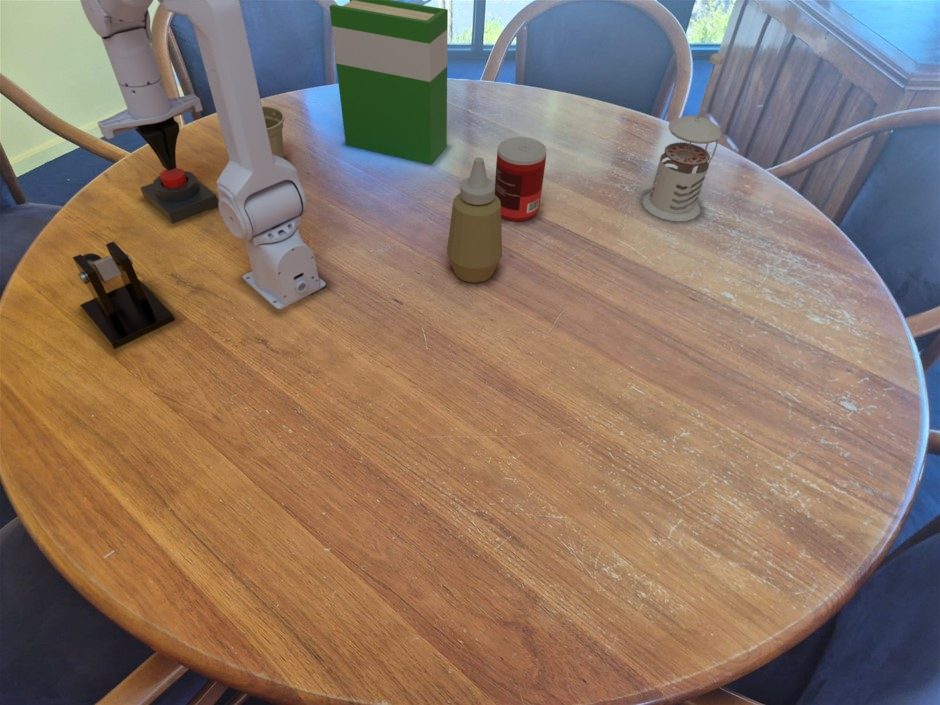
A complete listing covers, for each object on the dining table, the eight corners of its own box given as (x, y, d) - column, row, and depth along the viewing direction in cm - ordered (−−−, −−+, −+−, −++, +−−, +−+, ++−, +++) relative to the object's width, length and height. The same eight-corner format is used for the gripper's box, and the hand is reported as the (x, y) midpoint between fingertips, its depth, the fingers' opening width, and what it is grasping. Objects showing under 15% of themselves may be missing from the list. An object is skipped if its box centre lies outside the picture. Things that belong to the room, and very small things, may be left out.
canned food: (539, 198, 107) (547, 138, 99) (538, 225, 101) (546, 163, 93) (495, 195, 107) (499, 134, 99) (491, 221, 101) (495, 159, 93)
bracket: (83, 311, 83) (50, 251, 76) (141, 285, 87) (115, 227, 80) (115, 350, 78) (83, 290, 71) (175, 321, 82) (150, 262, 75)
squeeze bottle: (495, 292, 89) (505, 179, 76) (440, 283, 90) (441, 171, 77) (504, 259, 94) (515, 148, 81) (453, 251, 95) (455, 141, 82)
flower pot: (262, 183, 107) (251, 136, 101) (227, 165, 111) (215, 118, 104) (304, 162, 112) (296, 116, 106) (269, 146, 116) (259, 100, 110)
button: (191, 184, 99) (188, 174, 98) (169, 192, 98) (166, 182, 96) (180, 175, 101) (177, 165, 100) (159, 183, 99) (155, 173, 98)
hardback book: (345, 145, 117) (329, 6, 100) (364, 128, 122) (351, -7, 105) (431, 164, 113) (429, 23, 96) (446, 146, 118) (447, 9, 101)
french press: (630, 200, 107) (668, 49, 89) (674, 181, 112) (719, 34, 94) (674, 228, 102) (724, 72, 84) (718, 206, 107) (775, 55, 89)
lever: (84, 280, 86) (71, 258, 84) (107, 270, 87) (95, 249, 86) (102, 286, 76) (87, 262, 74) (128, 275, 77) (114, 252, 76)
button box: (219, 206, 101) (213, 184, 99) (173, 225, 97) (165, 203, 95) (190, 182, 106) (183, 161, 103) (144, 199, 102) (136, 177, 99)
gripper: (175, 58, 93) (200, 143, 103) (75, 83, 86) (112, 172, 95) (198, 72, 90) (221, 159, 99) (96, 100, 82) (132, 190, 92)
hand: (169, 166), depth 97 cm, fingers closed
